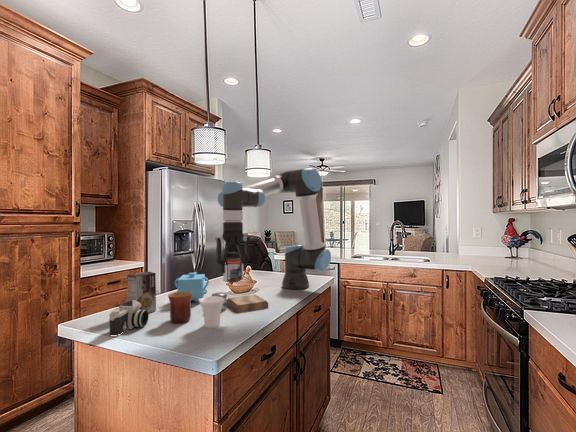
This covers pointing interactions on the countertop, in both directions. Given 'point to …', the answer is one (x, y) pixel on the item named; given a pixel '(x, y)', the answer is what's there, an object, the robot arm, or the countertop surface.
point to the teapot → (193, 285)
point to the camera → (127, 317)
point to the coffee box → (142, 290)
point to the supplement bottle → (233, 267)
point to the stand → (246, 303)
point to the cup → (211, 310)
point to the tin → (224, 295)
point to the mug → (180, 306)
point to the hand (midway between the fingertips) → (233, 280)
